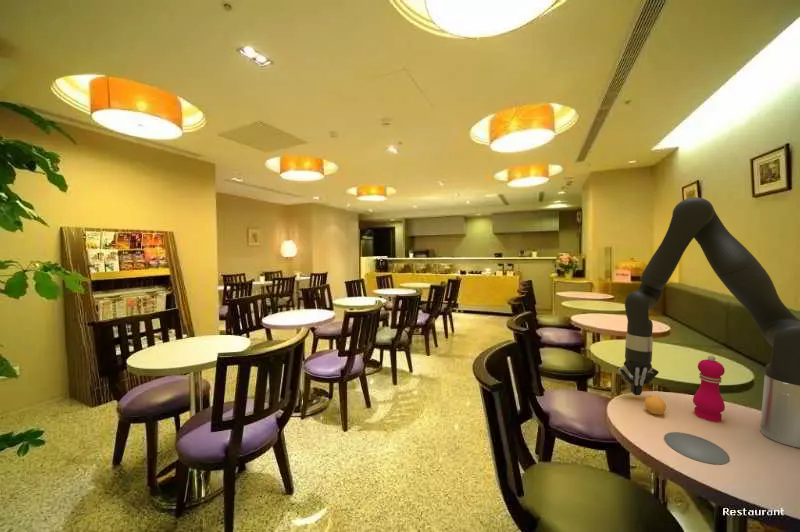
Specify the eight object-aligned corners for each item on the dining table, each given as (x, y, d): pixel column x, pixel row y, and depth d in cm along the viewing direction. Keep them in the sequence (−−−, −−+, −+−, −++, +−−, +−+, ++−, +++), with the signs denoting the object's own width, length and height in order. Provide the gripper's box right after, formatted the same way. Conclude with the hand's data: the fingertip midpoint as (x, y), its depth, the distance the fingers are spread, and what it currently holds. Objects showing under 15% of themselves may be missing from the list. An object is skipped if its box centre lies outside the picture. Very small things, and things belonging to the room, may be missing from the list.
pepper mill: (730, 424, 96) (735, 360, 94) (702, 422, 97) (706, 359, 95) (712, 411, 103) (716, 352, 101) (686, 409, 104) (690, 350, 102)
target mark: (700, 433, 91) (700, 433, 91) (745, 465, 79) (745, 465, 78) (652, 431, 93) (652, 431, 93) (688, 463, 80) (688, 462, 80)
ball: (657, 408, 105) (658, 393, 104) (670, 418, 99) (671, 401, 99) (640, 408, 105) (640, 392, 105) (651, 417, 100) (652, 401, 99)
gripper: (625, 350, 107) (622, 399, 108) (667, 351, 106) (663, 400, 107) (612, 343, 114) (610, 388, 116) (651, 343, 113) (648, 389, 115)
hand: (636, 394), depth 111 cm, fingers closed
